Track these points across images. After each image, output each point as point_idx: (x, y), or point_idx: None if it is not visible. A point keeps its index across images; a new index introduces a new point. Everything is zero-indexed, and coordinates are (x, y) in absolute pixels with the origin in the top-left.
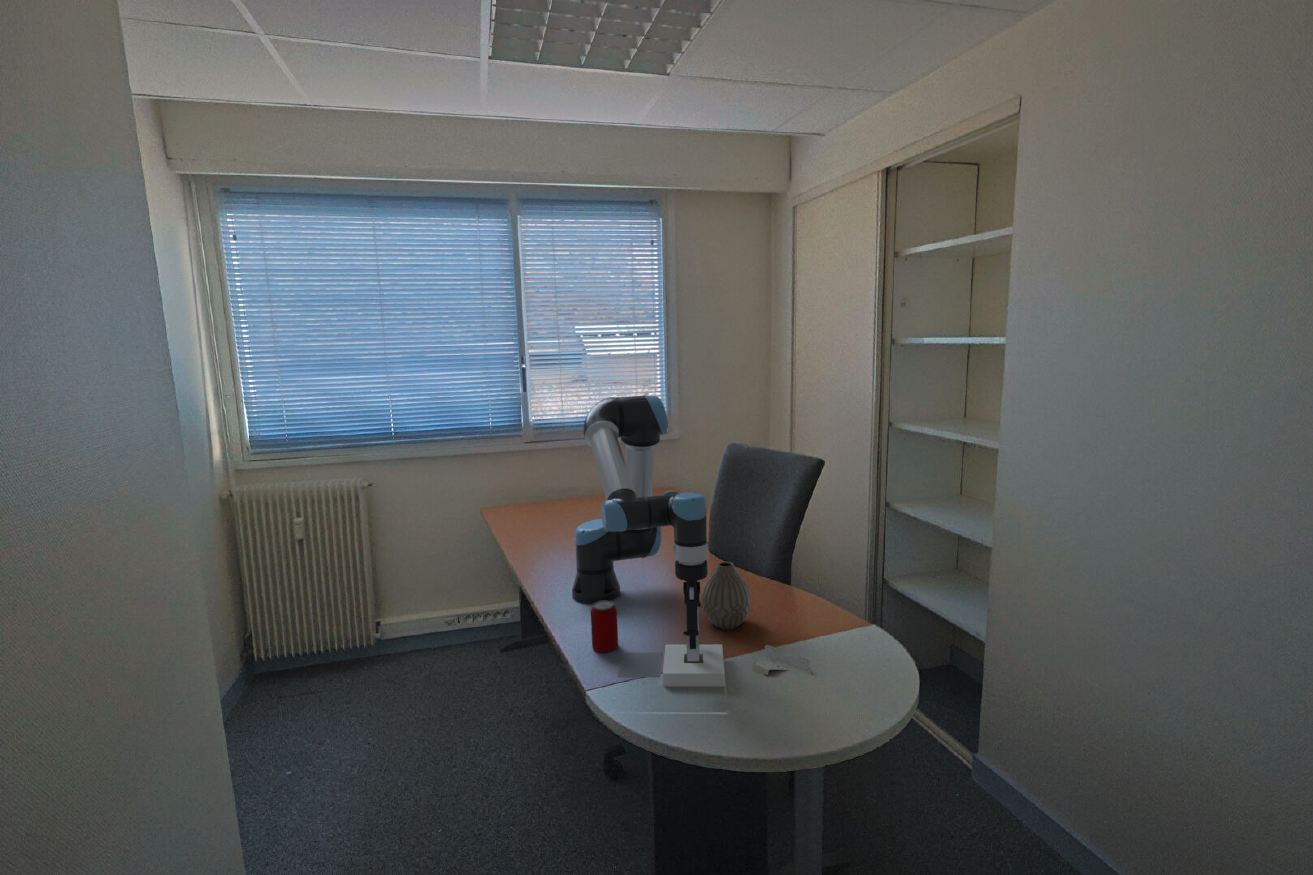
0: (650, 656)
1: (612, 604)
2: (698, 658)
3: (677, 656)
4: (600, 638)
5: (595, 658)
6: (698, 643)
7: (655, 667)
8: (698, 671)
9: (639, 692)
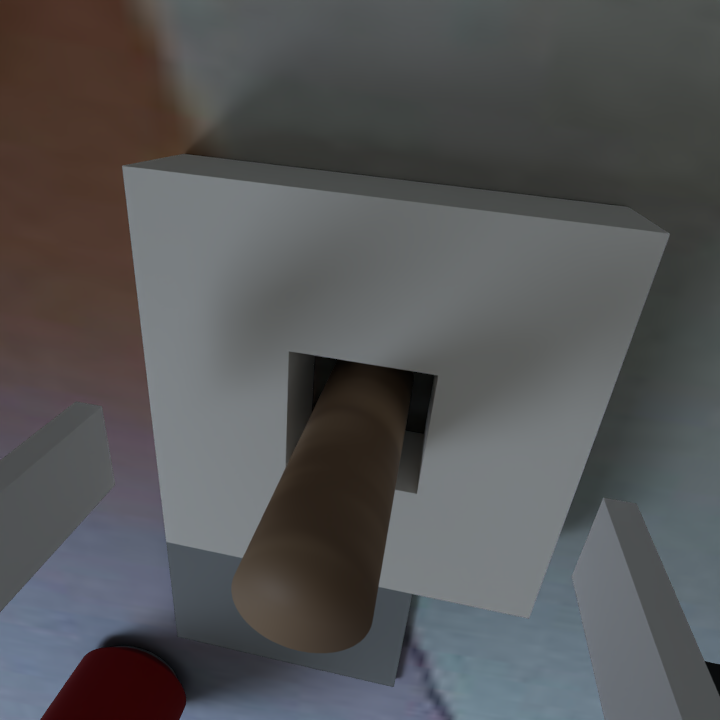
0: (208, 552)
1: None
2: (642, 527)
3: None
4: None
5: (224, 708)
6: (710, 682)
7: None
8: (563, 429)
9: (536, 634)
